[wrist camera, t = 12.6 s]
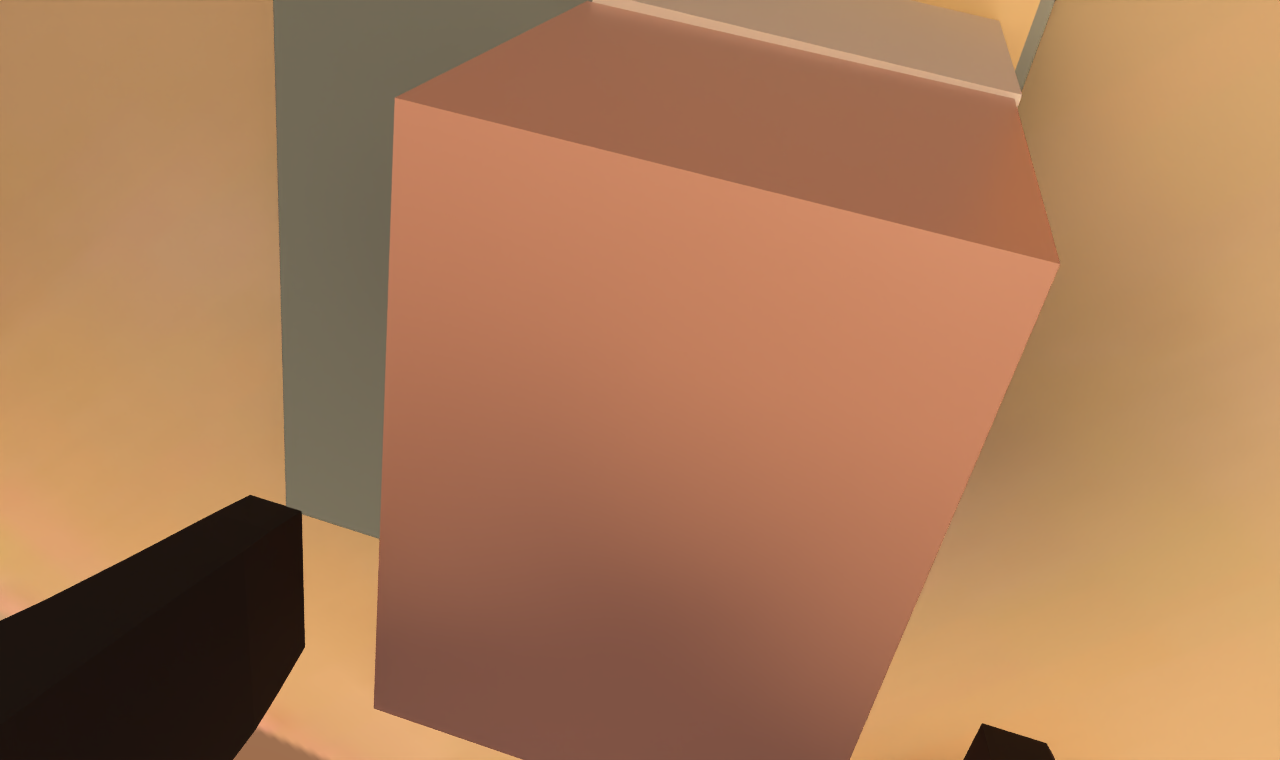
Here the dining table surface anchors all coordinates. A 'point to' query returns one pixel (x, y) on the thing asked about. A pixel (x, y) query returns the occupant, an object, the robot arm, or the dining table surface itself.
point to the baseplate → (387, 208)
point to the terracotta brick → (683, 383)
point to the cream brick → (862, 34)
